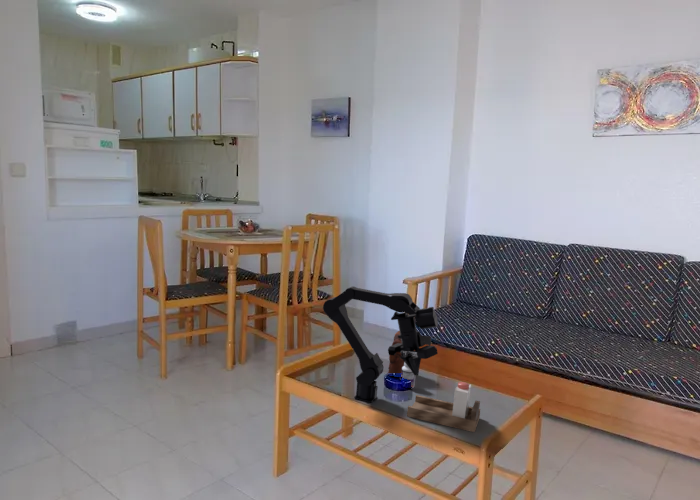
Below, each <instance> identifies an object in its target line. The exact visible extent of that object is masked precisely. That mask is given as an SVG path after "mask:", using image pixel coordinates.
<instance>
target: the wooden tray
mask: <svg viewBox="0 0 700 500" xmlns="http://www.w3.org/2000/svg"><path fill="white" fill-rule="evenodd" d="M453 403H454V402H451V401H445V400H440V399H437V398H432V397H428V396H424V395H419V394H416V395H415V400H414V402H413V404H412V405H408V406H407V411H406V412H407V413H406V417H408V418H413V419H415V420H416V419H417V420H421V421H424V422H429V423H433V424H438V425H442V426H446V427H451V428H456V429H459V430H463V431H467V432H472V433H475V432H476V429H477V426H478V423H479V421H480V418H481V417H480V416H481V408H480V407H481V405H480V404H481V401H480V400H475V401H474V404H473V405H472V406H469V409H468V415H467V417H466V419H465V418H460V417H456V416H452V412H453Z"/></svg>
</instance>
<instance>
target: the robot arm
mask: <svg viewBox="0 0 700 500" xmlns="http://www.w3.org/2000/svg"><path fill="white" fill-rule="evenodd" d="M352 300H356V301H361V302H366V303H371V304H374V305H375V304H377V305H381V306H384V307H386V308H387V309H390V310H393V311H394V313H393V316H392V317H391V321H395V320H396V321H397V324H398V329H399V330H398V331H400V335H398V338H401V341H402V343H397V344H395V345H392V344H391V345H390V346H389V347H388V349H387V353H388V356H389V355H395V354H396V352H401V357H400V358H401V359H403V361H404V362H405V363H406V364H407V365H408V367H409V368H410V370H411V371H412V372H413V374H414V375H416V376H418V375H419V374H420V373H419V372H420V366H421V361H422V359H423V360H424V359H425V360H426V359H429V358H432V357H434V356H436V355H438V354H439V353H438V349H437V347H436V346H434V345H432V336H430V335H422V334H421V332H420V331H419V330H417V328H419V329H420V330H423V329H424V330H425V329H433V328H438V327H439V325H438V322H439V321H438V316H437V314H436V313H437V312H436V311H435V308H434V306H429V307H426V308H420V307H419V306H418V305H417V303H415V302H414V301H413V298H412V297H411V295H410V294H408V293H407V292H406V293H404V292H394V293H393V292H391V293H385V292H380V291H375V290H371V289H365V288H360V287H356V286H350V287H347V288H346V289H345V290H343V292H342V293H340V294H339V295H337V296H333V297H331V298H329V299H327V300H325V302H323V306H322V310H323V312H324V314H325V315H326V316H327V317H328V318H329V319H330V321H332V322H333V323H335V324H336V325H337V326H338V328H339V330H340V331H341V333H342V334H343V336H344V338H345V339H346V341H347V342H348V344H349V346H350V347H351V349H352V350H353V352H354V354H355V355H356V357H357V359H358V361H359V362H358V363H359V366H360V370H361V372H360V373H359V374H358V375H357V376H356V377H355V379H356V392H355V396H354V397H353V398H355V400H358V399H359V401H362V400H363V402H367V403H373V401H375V399H376V398H377V397H378V396H377V395H378V385H377V383H378V382H377V381H376V380H378V379H379V377H380V376H381V375H382V374H383V372H384V364H383V363H384V361H383V360H382V359H381V358H380V355H379V353H378V352H375V353H372V352H371V351H370V350H369V349H368V346H367V345H366V344H365V342H364V340H363V339H362V337H361V336H360V334H359V333H358V330H357V329H356V327H355V326H354V325H353V322H352V321H351V320H350V318H349V315H348V311H347V310H348V308H347V307H346V305H347V304H348V303H349V302H351V301H352Z"/></svg>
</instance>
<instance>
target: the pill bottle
mask: <svg viewBox="0 0 700 500" xmlns="http://www.w3.org/2000/svg"><path fill="white" fill-rule="evenodd" d="M404 365H405V366H403V367H402V374H401V377H402V378H404V379H407V380H410V381H411V387H412V388H411V389H414V388H415V385H416V384H415V383H416V376H417V375H414V374H413V372H412V371H411V370H410V368H409V367H408V365H407V364H406V363H405V362H404ZM401 377H400V378H401Z"/></svg>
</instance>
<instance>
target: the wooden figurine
mask: <svg viewBox="0 0 700 500" xmlns="http://www.w3.org/2000/svg"><path fill="white" fill-rule="evenodd" d="M398 335H400V331H399V330H398V331H397V332H395V334H394V336H393V341H392V344H391V346H392V345H395V344H397V343H402V341H401V338H398ZM388 356H389V357H388V359H389V365H388V370H387V371H388V372H387V374H388V373H402V367H403V366H405V365H404V361H403V359H401V358H400V357H401V352H396V354H395V355H389V354H388Z"/></svg>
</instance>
